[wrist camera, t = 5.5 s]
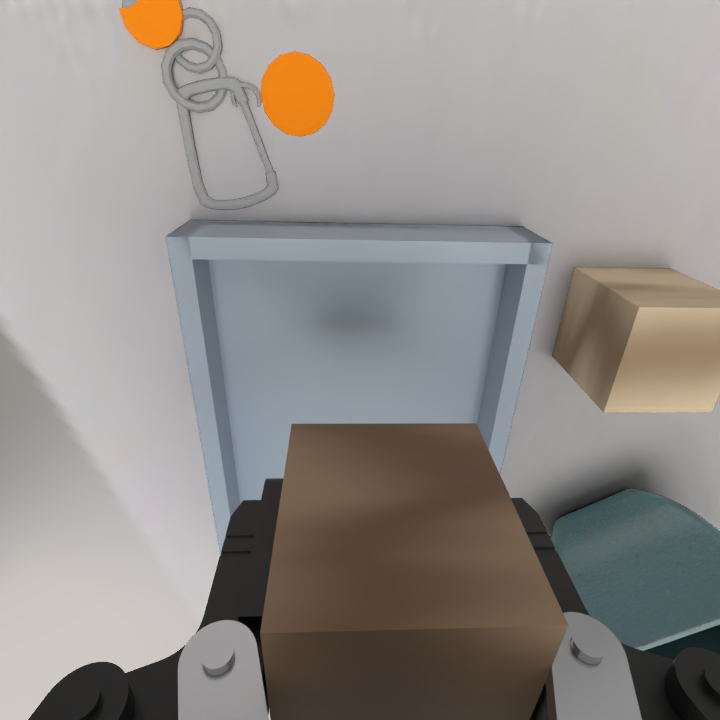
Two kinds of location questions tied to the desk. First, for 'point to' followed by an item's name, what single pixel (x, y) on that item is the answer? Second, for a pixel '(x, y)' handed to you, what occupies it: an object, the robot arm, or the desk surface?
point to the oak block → (641, 339)
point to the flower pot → (645, 570)
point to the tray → (347, 333)
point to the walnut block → (403, 581)
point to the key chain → (231, 86)
